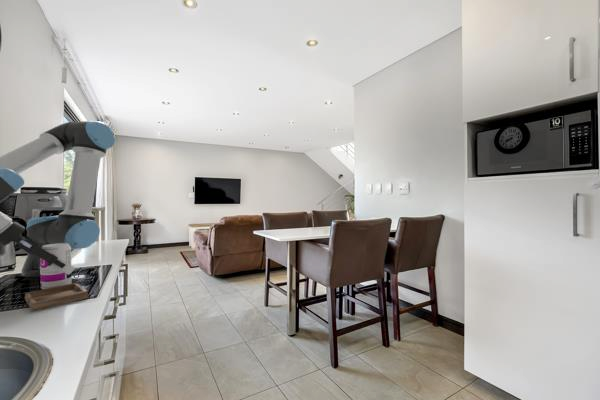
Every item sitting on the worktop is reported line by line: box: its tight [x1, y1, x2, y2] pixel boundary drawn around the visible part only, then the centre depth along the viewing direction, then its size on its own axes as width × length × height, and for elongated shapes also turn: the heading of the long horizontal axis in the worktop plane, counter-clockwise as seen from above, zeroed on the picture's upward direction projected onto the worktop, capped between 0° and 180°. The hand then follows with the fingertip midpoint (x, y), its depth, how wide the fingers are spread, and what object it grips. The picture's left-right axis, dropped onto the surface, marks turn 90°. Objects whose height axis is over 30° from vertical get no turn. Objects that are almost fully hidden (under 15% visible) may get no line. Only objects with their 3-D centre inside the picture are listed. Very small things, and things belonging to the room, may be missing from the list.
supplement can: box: [39, 243, 73, 290], centre depth 96 cm, size 8×8×15 cm
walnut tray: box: [24, 282, 89, 312], centre depth 85 cm, size 13×13×2 cm
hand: (68, 268), depth 98 cm, fingers closed on supplement can, 8 cm apart
